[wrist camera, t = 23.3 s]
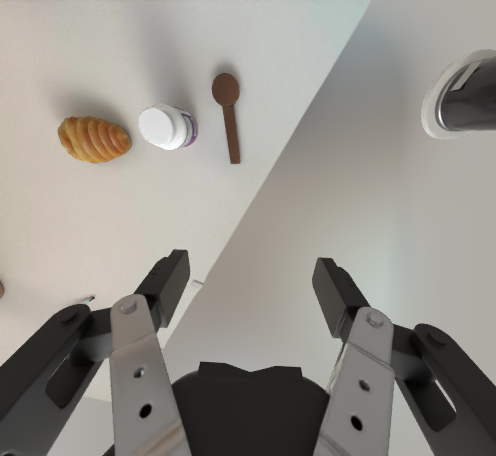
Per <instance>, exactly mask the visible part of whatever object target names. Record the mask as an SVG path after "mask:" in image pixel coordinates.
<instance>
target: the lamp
mask: <svg viewBox="0 0 496 456" xmlns="http://www.w3.org/2000/svg"><path fill="white" fill-rule="evenodd" d="M3 293H4V290H3V286H2V284H1V282H0V298H1V297H2V296H3Z"/></svg>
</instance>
